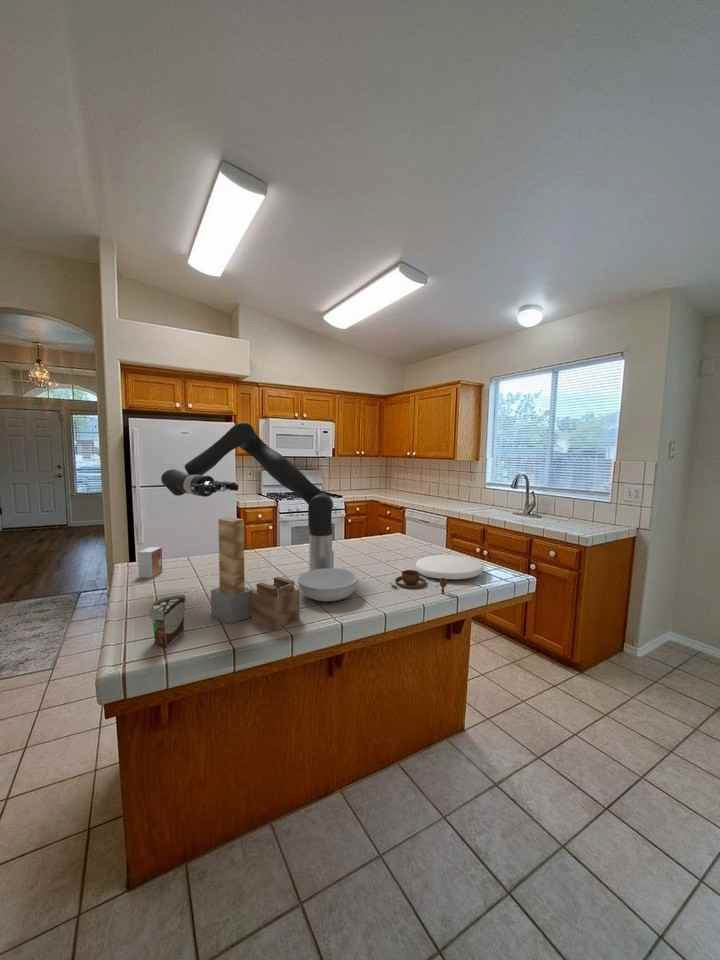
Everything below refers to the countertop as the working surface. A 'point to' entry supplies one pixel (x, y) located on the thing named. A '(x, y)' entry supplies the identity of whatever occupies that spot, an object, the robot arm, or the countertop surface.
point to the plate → (449, 567)
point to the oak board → (231, 554)
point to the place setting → (415, 580)
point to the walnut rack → (275, 603)
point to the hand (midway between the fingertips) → (226, 488)
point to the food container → (168, 619)
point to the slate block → (231, 605)
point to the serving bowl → (327, 584)
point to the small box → (150, 562)
